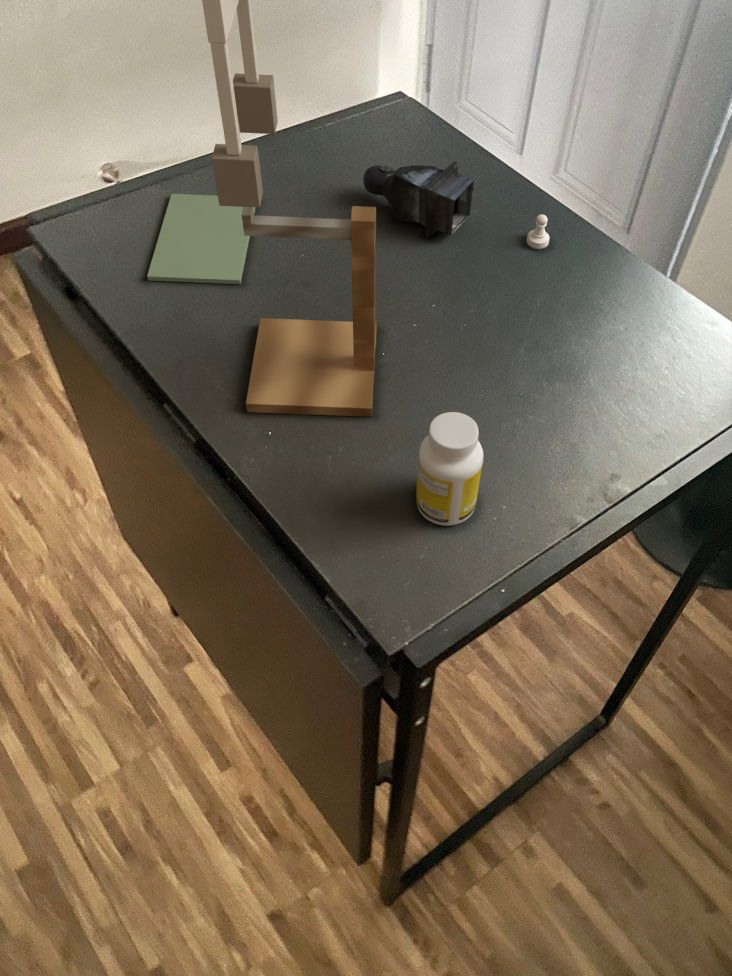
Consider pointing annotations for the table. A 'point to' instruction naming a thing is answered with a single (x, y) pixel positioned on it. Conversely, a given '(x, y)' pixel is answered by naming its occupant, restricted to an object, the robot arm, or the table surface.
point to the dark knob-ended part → (424, 195)
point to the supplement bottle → (449, 469)
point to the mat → (200, 242)
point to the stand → (319, 330)
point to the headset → (238, 105)
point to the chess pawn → (539, 234)
